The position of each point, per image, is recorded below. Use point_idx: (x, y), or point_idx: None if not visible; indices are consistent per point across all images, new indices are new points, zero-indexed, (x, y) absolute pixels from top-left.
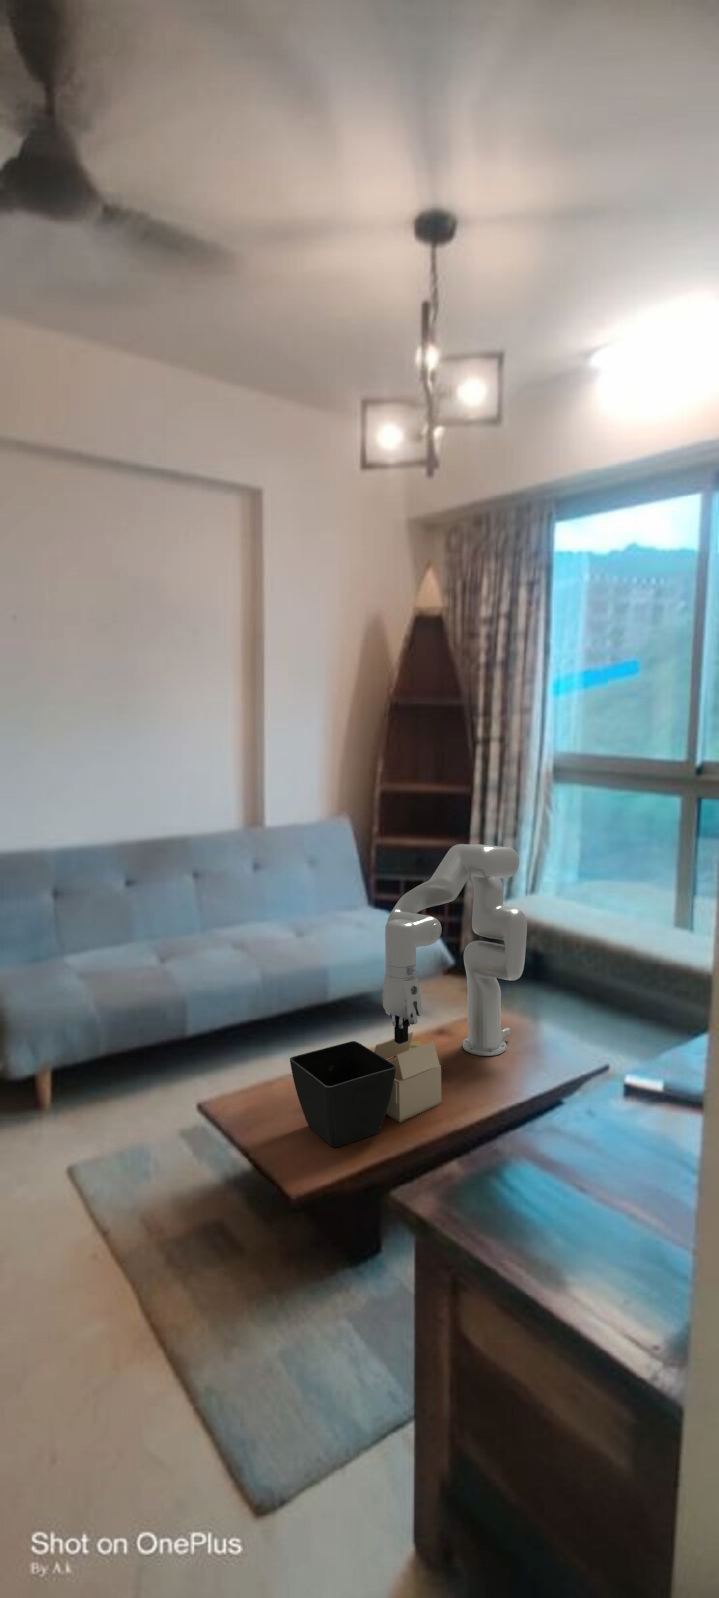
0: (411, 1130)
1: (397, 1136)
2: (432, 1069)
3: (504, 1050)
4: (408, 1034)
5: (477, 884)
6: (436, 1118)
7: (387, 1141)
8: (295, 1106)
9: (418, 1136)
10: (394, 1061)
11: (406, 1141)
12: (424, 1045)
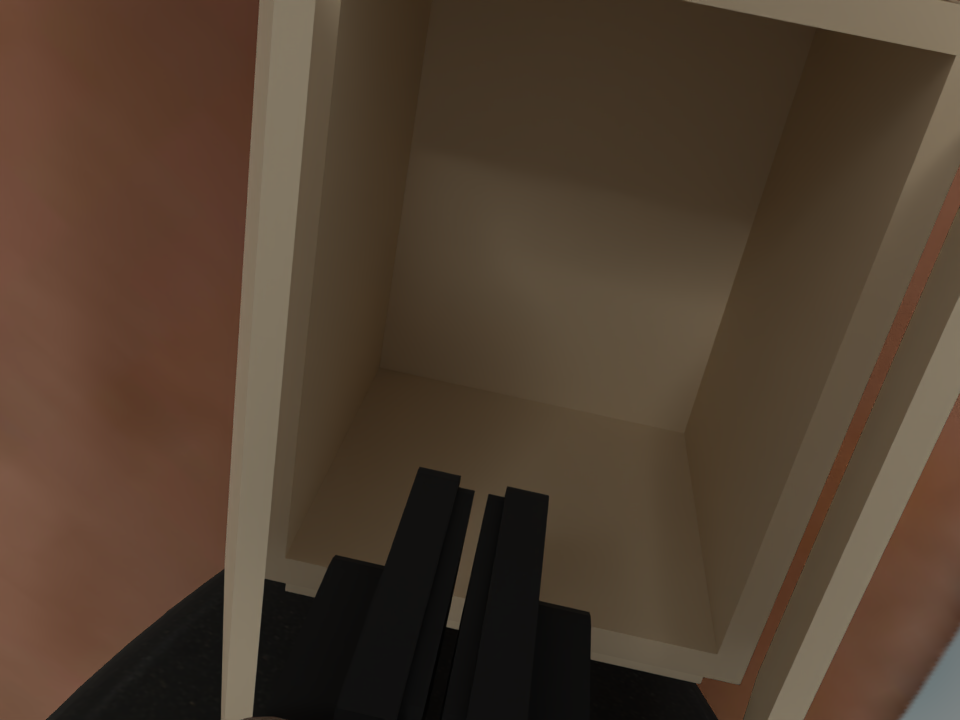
0: (833, 485)
1: (784, 586)
2: (938, 199)
3: None
4: (300, 153)
5: None
6: (935, 240)
7: (758, 655)
8: (15, 624)
9: (921, 521)
10: (322, 260)
11: (873, 603)
12: (942, 428)
